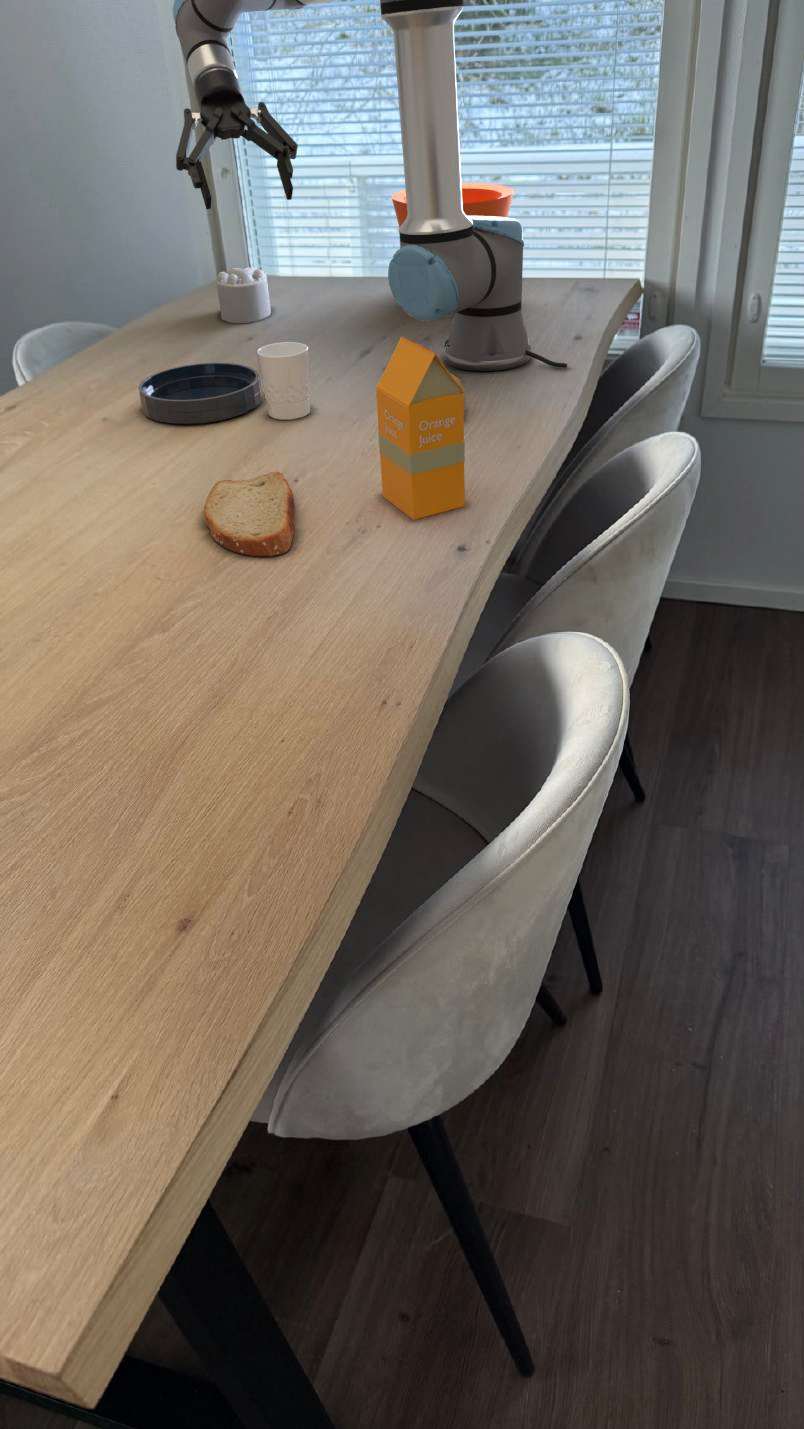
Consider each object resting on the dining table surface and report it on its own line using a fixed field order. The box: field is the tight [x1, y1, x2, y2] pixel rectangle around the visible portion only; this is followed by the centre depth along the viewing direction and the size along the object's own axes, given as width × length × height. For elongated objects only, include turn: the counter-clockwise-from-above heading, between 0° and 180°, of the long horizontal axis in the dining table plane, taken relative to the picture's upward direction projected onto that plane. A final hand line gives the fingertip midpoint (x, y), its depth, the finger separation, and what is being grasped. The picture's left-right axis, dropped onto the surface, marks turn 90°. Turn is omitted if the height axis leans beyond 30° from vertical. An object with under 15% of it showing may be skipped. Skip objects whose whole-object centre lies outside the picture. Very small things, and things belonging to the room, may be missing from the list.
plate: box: [137, 362, 264, 425], centre depth 164 cm, size 20×20×4 cm
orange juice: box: [375, 335, 466, 521], centre depth 124 cm, size 8×9×20 cm
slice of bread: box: [203, 470, 295, 557], centre depth 127 cm, size 18×18×4 cm
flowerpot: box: [391, 182, 515, 229], centre depth 210 cm, size 25×25×20 cm
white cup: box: [256, 341, 311, 421], centre depth 157 cm, size 8×8×10 cm
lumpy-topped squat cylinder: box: [215, 266, 272, 324], centre depth 208 cm, size 10×13×9 cm
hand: (250, 199), depth 162 cm, fingers open, 13 cm apart
